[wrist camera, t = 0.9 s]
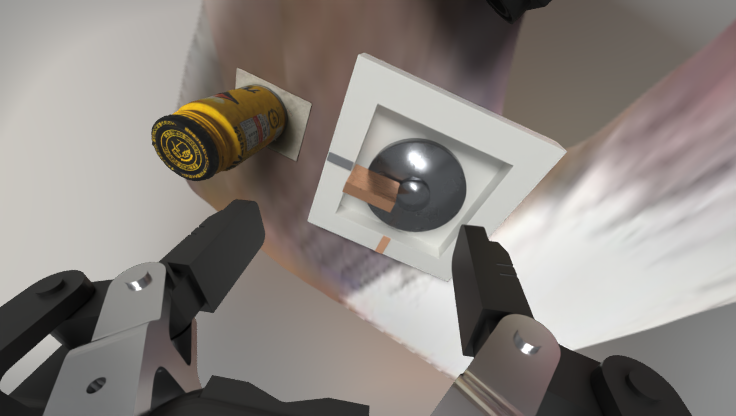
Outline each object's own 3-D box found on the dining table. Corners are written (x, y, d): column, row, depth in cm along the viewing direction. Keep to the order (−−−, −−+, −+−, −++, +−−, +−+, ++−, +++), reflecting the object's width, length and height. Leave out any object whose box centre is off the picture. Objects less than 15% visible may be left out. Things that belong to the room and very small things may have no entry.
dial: (486, 165, 27) (498, 194, 22) (433, 237, 34) (433, 272, 29) (376, 114, 27) (363, 134, 22) (344, 198, 33) (328, 227, 28)
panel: (556, 141, 25) (567, 152, 23) (447, 268, 37) (448, 283, 35) (364, 52, 25) (357, 54, 22) (314, 210, 36) (306, 222, 34)
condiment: (237, 67, 28) (131, 88, 18) (312, 103, 28) (248, 142, 19) (232, 129, 32) (144, 173, 22) (297, 160, 33) (238, 216, 23)
